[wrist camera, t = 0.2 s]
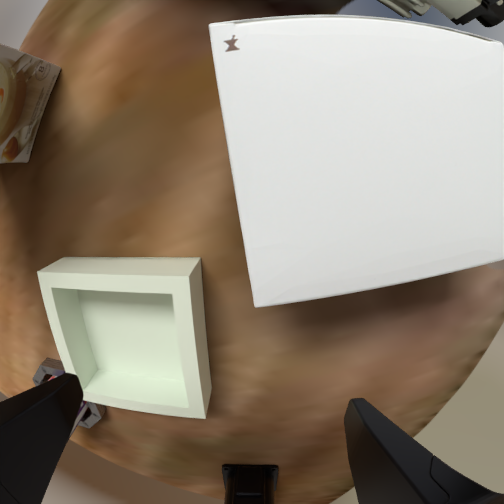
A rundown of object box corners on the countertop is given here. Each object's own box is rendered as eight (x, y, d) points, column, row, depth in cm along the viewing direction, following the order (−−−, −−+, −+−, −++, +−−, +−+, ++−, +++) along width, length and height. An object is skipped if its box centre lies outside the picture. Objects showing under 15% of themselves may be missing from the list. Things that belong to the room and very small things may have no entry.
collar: (112, 424, 28) (107, 432, 27) (55, 409, 28) (50, 416, 27) (90, 366, 26) (84, 375, 24) (31, 354, 26) (25, 360, 24)
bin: (211, 388, 26) (205, 418, 22) (93, 374, 26) (76, 398, 22) (200, 257, 22) (188, 276, 18) (64, 257, 23) (37, 271, 19)
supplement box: (254, 255, 22) (249, 314, 13) (225, 77, 19) (202, 20, 10) (453, 226, 21) (529, 258, 12) (435, 71, 18) (506, 40, 9)
